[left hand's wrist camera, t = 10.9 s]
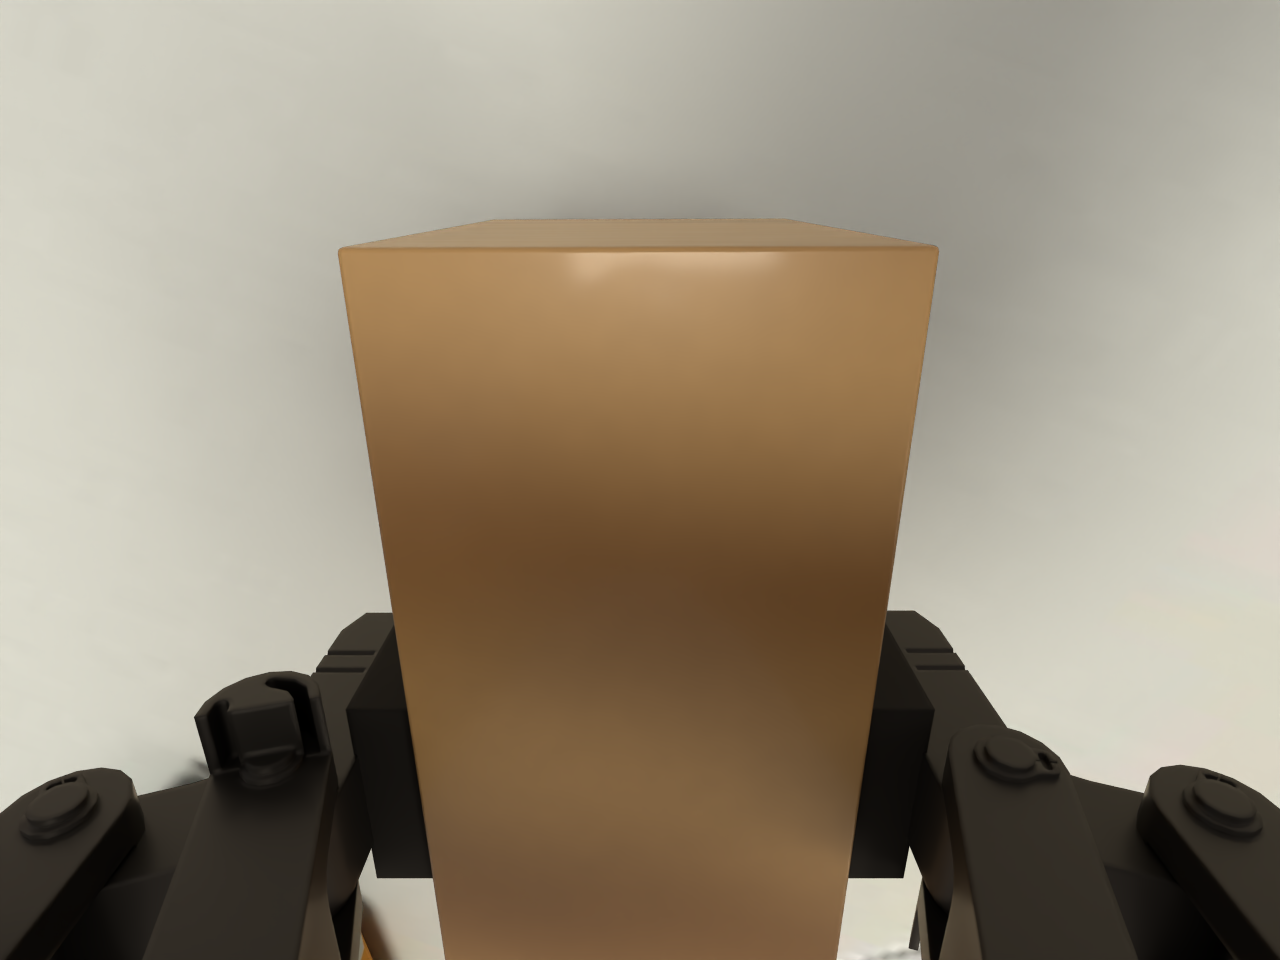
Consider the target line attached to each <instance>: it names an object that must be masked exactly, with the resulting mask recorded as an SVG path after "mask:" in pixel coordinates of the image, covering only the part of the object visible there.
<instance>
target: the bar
mask: <svg viewBox="0 0 1280 960" xmlns="http://www.w3.org/2000/svg"><path fill="white" fill-rule="evenodd" d="M938 255H939V250H938V247H936V246H934V245H928V244H923V243H917V242H912V241H906V240H900V239H895V238H889V237H884V236H878V235H872V234H867V233H861V232H856V231H850V230H845V229H839V228H833V227H828V226H822V225H817V224H811V223H805V222H800V221H794V220H789V219H530V220H489V221H484V222H478V223H473V224H467V225H462V226H456V227H451V228H445V229H440V230H435V231H429V232H424V233H418V234H413V235H407V236H402V237H396V238H391V239H385V240H380V241H374V242H369V243H364V244H358V245H353V246H347V247H342V248H340V249H339V251H338V257H339V264H340V270H341V277H342V284H343V290H344V297H345V303H346V310H347V316H348V323H349V330H350V336H351V343H352V349H353V356H354V362H355V369H356V376H357V382H358V389H359V395H360V402H361V408H362V415H363V422H364V428H365V435H366V441H367V448H368V454H369V461H370V468H371V474H372V481H373V487H374V494H375V500H376V507H377V514H378V520H379V527H380V533H381V540H382V546H383V553H384V560H385V566H386V573H387V579H388V586H389V592H390V599H391V606H392V612H393V619H394V625H395V632H396V638H397V645H398V652H399V658H400V665H401V671H402V678H403V684H404V691H405V698H406V704H407V711H408V717H409V724H410V730H411V737H412V744H413V750H414V757H415V763H416V770H417V777H418V783H419V790H420V796H421V803H422V809H423V816H424V823H425V829H426V836H427V842H428V849H429V855H430V862H431V869H432V875H433V882H434V888H435V895H436V901H437V908H438V915H439V921H440V928H441V934H442V941H443V947H444V954H445V960H836V958H837V951H838V944H839V937H840V931H841V924H842V917H843V910H844V903H845V896H846V889H847V882H848V875H849V868H850V862H851V855H852V848H853V841H854V834H855V827H856V820H857V813H858V806H859V799H860V793H861V786H862V779H863V772H864V765H865V758H866V751H867V744H868V737H869V730H870V724H871V717H872V710H873V703H874V696H875V689H876V682H877V675H878V668H879V662H880V655H881V648H882V641H883V634H884V627H885V620H886V613H887V606H888V599H889V593H890V586H891V579H892V572H893V565H894V558H895V551H896V544H897V537H898V530H899V524H900V517H901V510H902V503H903V496H904V489H905V482H906V475H907V468H908V461H909V455H910V448H911V441H912V434H913V427H914V420H915V413H916V406H917V399H918V393H919V386H920V379H921V372H922V365H923V358H924V351H925V344H926V337H927V330H928V324H929V317H930V310H931V303H932V296H933V289H934V282H935V275H936V268H937V261H938Z"/></svg>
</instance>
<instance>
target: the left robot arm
mask: <svg viewBox="0 0 1280 960" xmlns="http://www.w3.org/2000/svg"><path fill="white" fill-rule="evenodd" d="M194 719H195V722H196V726H197V729H198V733H199V736H200V740H201V743H202V747H203V750H204V754H205V757H206V761H207V764H208V768H209V771H210V776H209V778H208V779H205V780H201V781H198V782H195V783H192V784H187V785H183V786H179V787H174V788H170V789H165V790H161V791H157V792H152V793H148V794H144V795H139V796H137V793H136V790H135V787H134V784H133V782H132V779H131V778H130V777H129V776H127V775H126V774H125V773H123V772H122V771H121V770H115V769H108V768H95V769H89V770H82V771H76V772H73V773H70V774H68V775H64V776H62V777H59V778H56V779H53V780H50V781H48V782H46V783H44V784H43V785H41V786H39V787H37V788H35V789H34V790H32V791H30V792H28V793H26V794H24V795H23V796H21V797H20V798H19V799H17V800H16V801H15V802H14V803H13V804H11V805H10V806H9V807H8V808H6V809H5V810H4V811H3V812H1V813H0V960H359V948H360V936H361V924H362V913H363V904H362V897H361V891H360V886H359V881H358V879H359V877H360V874H361V872H362V870H363V867H364V865H365V862H366V860H367V857H368V855H369V853H370V850H371V848H372V854H373V859H374V864H375V870H376V875H377V878H433V875H432V869H431V862H430V855H429V849H428V842H427V836H426V829H425V823H424V816H423V809H422V803H421V796H420V790H419V783H418V777H417V770H416V763H415V757H414V750H413V744H412V737H411V730H410V724H409V717H408V711H407V704H406V698H405V691H404V684H403V678H402V671H401V665H400V658H399V652H398V645H397V638H396V632H395V625H394V619H393V613H366V614H364V615H363V616H361V617H360V618H359V619H357V620H356V621H354V622H353V623H352V624H350V625H349V626H347V627H346V628H345V629H343V630H342V631H341V633H340V634H339V635H338V637H337V638H336V640H335V641H334V643H333V644H332V646H331V647H330V649H329V650H328V655H325V656H324V657H323V659H322V660H321V662H320V663H319V665H318V666H317V668H316V673H313V674H312V675H311V677H310V676H309V675H306V674H301V673H297V672H293V671H282V672H268V673H264V674H260V675H256V676H252V677H248V678H245V679H243V680H241V681H239V682H236V683H234V684H232V685H230V686H228V687H225V688H223V689H222V690H221V691H219V692H218V693H217V694H215V695H214V696H213V697H211V698H210V699H208V700H207V701H206V702H205V703H204V704H203V706H202V707H201V708H200V710H199V711H198V712H197V714H196V715H195V716H194ZM909 846H910V848H911V850H912V853H913V855H914V858H915V860H916V862H917V865H918V867H919V870H920V872H921V875H922V881H921V886H920V891H919V896H918V901H917V906H916V911H915V916H914V921H913V926H912V931H911V937H910V943H909V948H910V949H914V950H918V947H919V943H920V946H921V958H922V960H1280V809H1279V808H1278V807H1277V806H1276V805H1274V804H1273V803H1272V802H1271V801H1269V800H1268V799H1267V798H1266V797H1264V796H1263V795H1262V794H1261V793H1259V792H1257V791H1255V790H1254V789H1252V788H1250V787H1248V786H1246V785H1244V784H1243V783H1241V782H1239V781H1237V780H1235V779H1233V778H1231V777H1228V776H1225V775H1223V774H1219V773H1217V772H1214V771H1211V770H1208V769H1205V768H1198V767H1192V766H1185V765H1175V766H1168V767H1161V768H1160V769H1158V770H1157V771H1156V772H1155V773H1153V774H1152V775H1151V776H1150V778H1149V780H1148V783H1147V786H1146V789H1145V792H1144V793H1141V792H1136V791H1132V790H1128V789H1123V788H1119V787H1114V786H1110V785H1106V784H1101V783H1097V782H1093V781H1089V780H1085V779H1082V778H1079V777H1075V776H1072V775H1070V773H1069V771H1068V770H1067V768H1066V767H1065V765H1064V763H1063V762H1062V760H1061V759H1060V757H1059V756H1057V755H1056V754H1055V753H1054V752H1053V751H1051V750H1050V749H1049V748H1048V747H1047V746H1045V745H1044V744H1043V743H1042V742H1040V741H1038V740H1036V739H1034V738H1032V737H1030V736H1028V735H1026V734H1024V733H1022V732H1020V731H1016V730H1013V729H1009V728H1007V727H1006V725H1005V724H1004V722H1003V721H1002V719H1001V718H1000V716H999V715H998V714H997V712H996V711H995V709H994V708H993V706H992V705H991V703H990V702H989V700H988V699H987V698H986V696H985V695H984V693H983V692H982V690H981V689H980V687H979V686H978V684H977V683H976V682H975V680H974V679H973V677H972V676H971V674H970V673H969V671H968V670H965V665H964V664H963V663H962V661H961V660H960V658H959V657H958V655H957V654H956V653H953V648H952V647H951V645H950V644H949V642H948V641H947V639H946V638H945V636H944V635H943V633H942V632H941V631H940V629H939V628H938V627H936V626H935V625H934V624H932V623H931V622H929V621H928V620H927V619H925V618H924V617H922V616H921V615H920V614H918V613H917V612H915V611H887V613H886V620H885V627H884V634H883V641H882V648H881V655H880V662H879V668H878V675H877V682H876V689H875V696H874V703H873V710H872V717H871V724H870V730H869V737H868V744H867V751H866V758H865V765H864V772H863V779H862V786H861V793H860V799H859V806H858V813H857V820H856V827H855V834H854V841H853V848H852V855H851V862H850V868H849V875H848V878H903V877H904V872H905V867H906V861H907V856H908V851H909Z"/></svg>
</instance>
